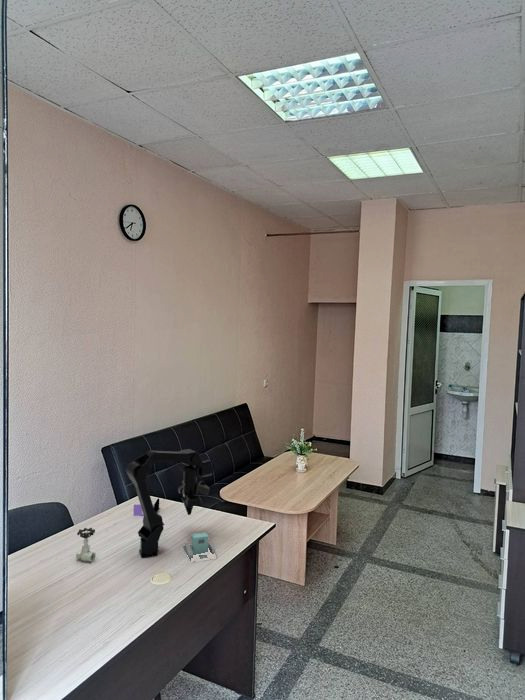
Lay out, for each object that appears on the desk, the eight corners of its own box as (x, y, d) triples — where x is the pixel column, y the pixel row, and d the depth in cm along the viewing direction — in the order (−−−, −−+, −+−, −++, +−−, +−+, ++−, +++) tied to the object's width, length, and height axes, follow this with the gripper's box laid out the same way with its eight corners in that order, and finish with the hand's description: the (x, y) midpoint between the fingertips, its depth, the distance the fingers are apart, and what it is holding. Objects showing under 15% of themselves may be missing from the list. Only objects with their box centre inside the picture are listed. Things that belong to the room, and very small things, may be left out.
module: (193, 554, 192) (194, 538, 192) (191, 550, 196) (191, 533, 196) (208, 552, 194) (208, 536, 194) (205, 548, 198) (206, 532, 198)
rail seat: (190, 563, 187) (190, 555, 187) (182, 547, 200) (183, 540, 200) (217, 559, 191) (217, 551, 191) (208, 544, 204) (208, 536, 204)
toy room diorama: (156, 520, 227) (156, 506, 227) (131, 519, 227) (131, 505, 227) (161, 510, 239) (162, 497, 239) (138, 509, 239) (138, 496, 239)
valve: (87, 566, 182) (87, 535, 181) (73, 563, 184) (73, 533, 183) (98, 558, 188) (98, 529, 188) (84, 555, 190) (84, 526, 190)
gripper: (214, 484, 199) (213, 520, 199) (202, 471, 216) (201, 504, 217) (188, 487, 194) (186, 524, 195) (178, 473, 212) (177, 507, 212)
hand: (189, 514), depth 205 cm, fingers closed
